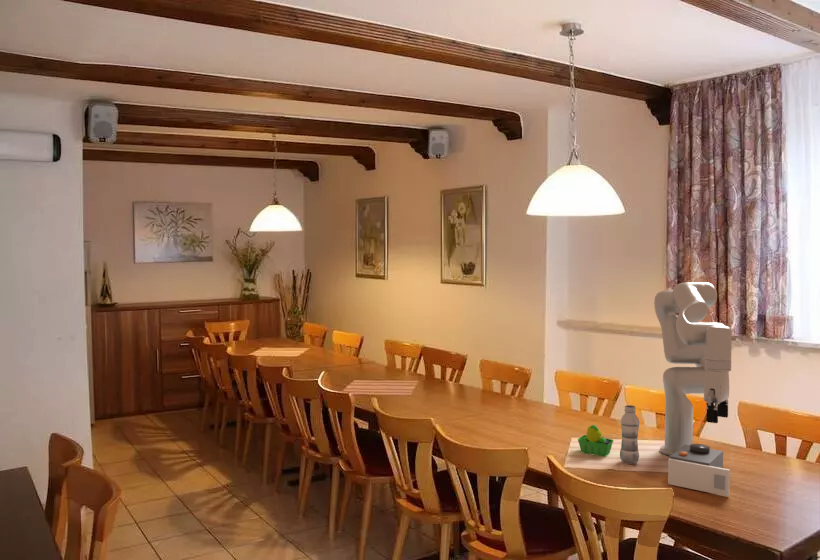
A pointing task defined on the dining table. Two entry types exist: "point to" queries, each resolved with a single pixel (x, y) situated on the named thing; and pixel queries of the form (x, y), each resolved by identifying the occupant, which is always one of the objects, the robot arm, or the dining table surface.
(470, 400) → the dining table surface
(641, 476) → the dining table surface
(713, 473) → the door
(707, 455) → the grey block
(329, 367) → the dining table surface
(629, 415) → the plastic bottle
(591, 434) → the fruit basket
